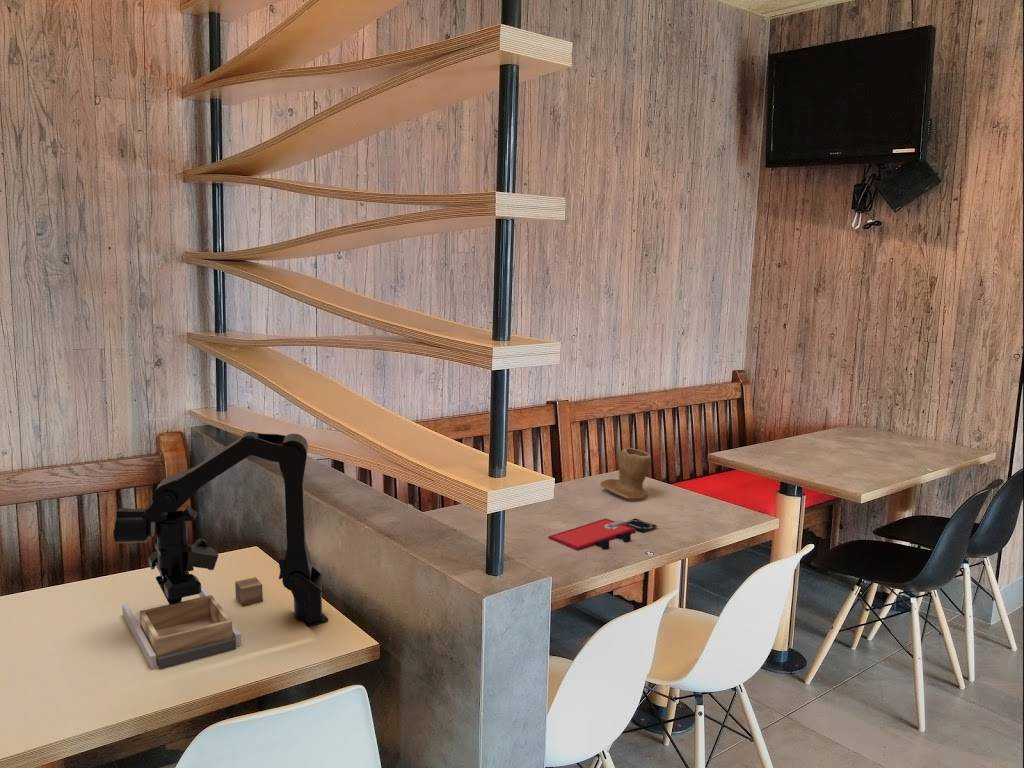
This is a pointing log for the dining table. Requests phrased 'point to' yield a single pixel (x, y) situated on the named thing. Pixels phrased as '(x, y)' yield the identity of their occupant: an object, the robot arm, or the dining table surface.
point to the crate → (185, 625)
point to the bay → (183, 655)
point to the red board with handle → (600, 533)
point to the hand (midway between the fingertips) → (175, 611)
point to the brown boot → (630, 474)
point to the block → (249, 591)
